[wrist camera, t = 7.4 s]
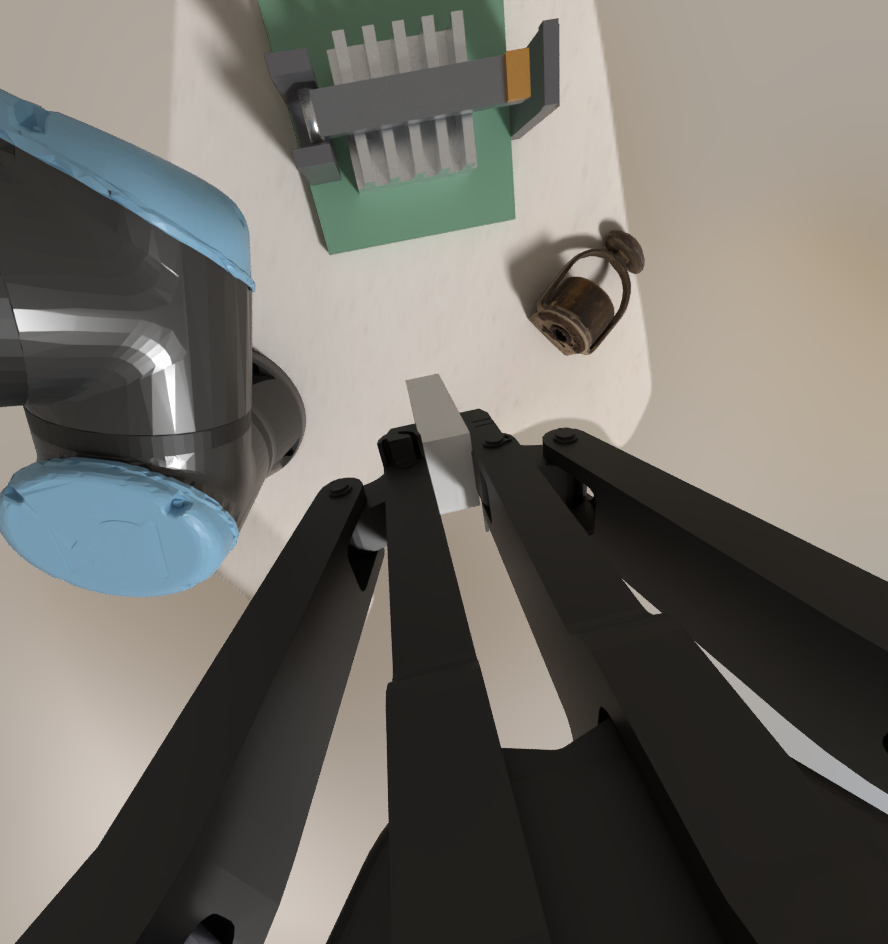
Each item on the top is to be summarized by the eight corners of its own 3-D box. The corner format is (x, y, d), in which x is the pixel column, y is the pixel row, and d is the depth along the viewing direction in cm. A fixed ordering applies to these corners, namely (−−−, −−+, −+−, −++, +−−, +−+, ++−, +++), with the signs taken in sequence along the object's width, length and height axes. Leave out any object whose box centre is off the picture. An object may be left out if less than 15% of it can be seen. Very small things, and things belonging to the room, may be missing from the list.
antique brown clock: (524, 276, 35) (562, 375, 38) (662, 201, 32) (690, 313, 36) (513, 284, 42) (546, 368, 45) (627, 223, 39) (653, 315, 42)
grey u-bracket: (312, 185, 32) (296, 168, 26) (287, 97, 29) (263, 54, 23) (342, 180, 32) (333, 161, 26) (320, 92, 30) (305, 47, 23)
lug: (504, 141, 34) (544, 105, 26) (500, 80, 32) (543, 20, 24) (519, 138, 34) (564, 102, 26) (516, 77, 32) (564, 17, 24)
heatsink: (359, 194, 33) (356, 184, 29) (330, 68, 29) (322, 32, 24) (469, 174, 34) (484, 161, 29) (456, 47, 30) (471, 8, 25)
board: (330, 254, 36) (329, 254, 35) (261, 8, 28) (257, -1, 27) (511, 219, 37) (515, 218, 36) (496, -29, 29) (501, -39, 28)
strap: (312, 144, 27) (308, 139, 26) (299, 95, 26) (294, 87, 24) (524, 104, 27) (530, 98, 26) (522, 54, 26) (529, 45, 25)
